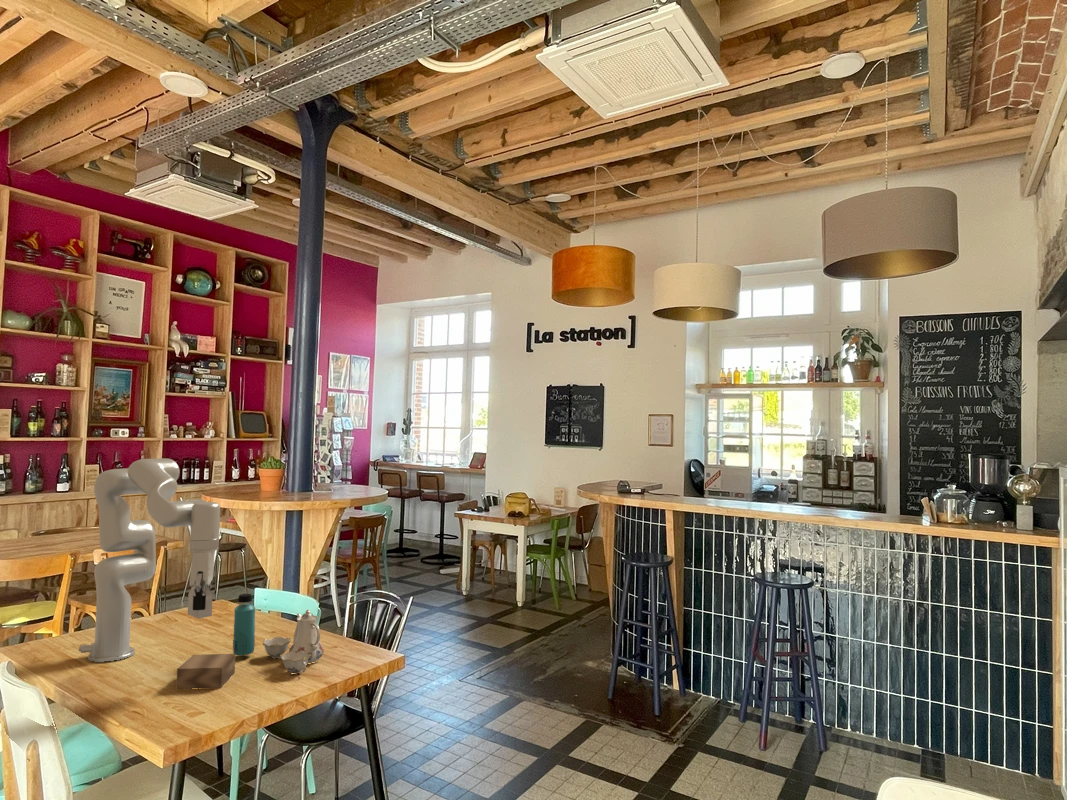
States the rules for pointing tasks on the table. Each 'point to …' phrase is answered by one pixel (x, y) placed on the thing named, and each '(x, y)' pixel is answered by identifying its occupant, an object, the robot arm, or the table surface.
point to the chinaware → (298, 644)
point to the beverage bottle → (244, 626)
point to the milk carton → (208, 608)
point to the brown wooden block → (206, 671)
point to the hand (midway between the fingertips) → (201, 605)
